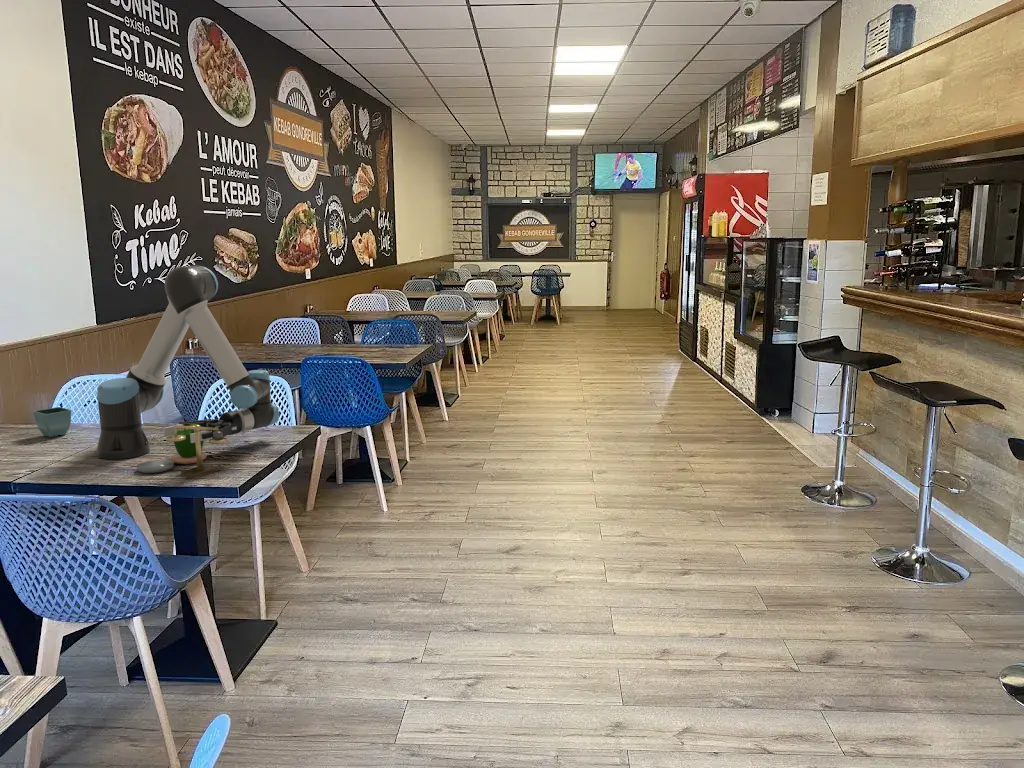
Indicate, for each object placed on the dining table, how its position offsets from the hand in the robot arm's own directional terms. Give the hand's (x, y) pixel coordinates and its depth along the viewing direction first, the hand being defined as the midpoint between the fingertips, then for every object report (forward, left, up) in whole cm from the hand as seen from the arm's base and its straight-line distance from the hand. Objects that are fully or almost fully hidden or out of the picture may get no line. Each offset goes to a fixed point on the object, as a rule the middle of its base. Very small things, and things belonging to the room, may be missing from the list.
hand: (177, 435), depth 226 cm
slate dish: (0, -8, -9) cm, 12 cm away
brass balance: (+14, -3, -9) cm, 17 cm away
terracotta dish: (0, +3, -9) cm, 9 cm away
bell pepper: (0, +3, -7) cm, 8 cm away
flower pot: (-67, -3, -9) cm, 68 cm away
